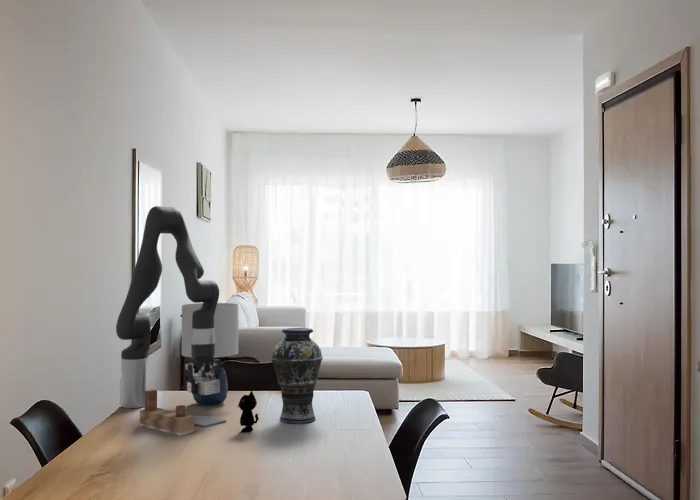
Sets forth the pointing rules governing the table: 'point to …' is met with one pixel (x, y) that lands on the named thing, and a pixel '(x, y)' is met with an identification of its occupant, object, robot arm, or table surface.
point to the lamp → (223, 343)
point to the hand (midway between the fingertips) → (203, 393)
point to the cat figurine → (247, 412)
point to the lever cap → (206, 386)
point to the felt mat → (207, 421)
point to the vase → (297, 374)
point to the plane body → (165, 417)
